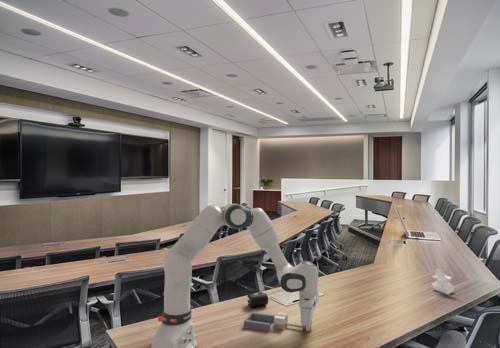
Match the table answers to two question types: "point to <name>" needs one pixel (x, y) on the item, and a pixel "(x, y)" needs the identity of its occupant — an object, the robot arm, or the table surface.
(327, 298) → the table surface
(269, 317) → the tray
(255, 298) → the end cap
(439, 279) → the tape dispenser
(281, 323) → the corded block
